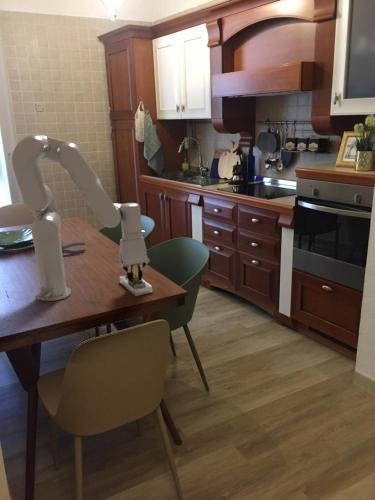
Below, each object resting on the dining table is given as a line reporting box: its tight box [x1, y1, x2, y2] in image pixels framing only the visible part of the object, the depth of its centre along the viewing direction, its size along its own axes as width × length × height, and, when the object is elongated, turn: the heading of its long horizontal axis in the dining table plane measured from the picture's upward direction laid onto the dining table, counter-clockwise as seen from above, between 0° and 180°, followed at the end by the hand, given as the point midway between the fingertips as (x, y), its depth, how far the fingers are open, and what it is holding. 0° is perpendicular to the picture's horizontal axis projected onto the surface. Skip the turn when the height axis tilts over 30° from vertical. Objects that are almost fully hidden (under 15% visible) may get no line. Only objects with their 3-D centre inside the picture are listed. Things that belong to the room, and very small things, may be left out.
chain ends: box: [119, 273, 153, 297], centre depth 174 cm, size 17×7×4 cm, turn 29°
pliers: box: [61, 241, 87, 255], centre depth 219 cm, size 20×2×6 cm, turn 113°
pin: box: [131, 264, 139, 284], centre depth 173 cm, size 3×3×8 cm
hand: (135, 279), depth 173 cm, fingers closed on pin, 3 cm apart
